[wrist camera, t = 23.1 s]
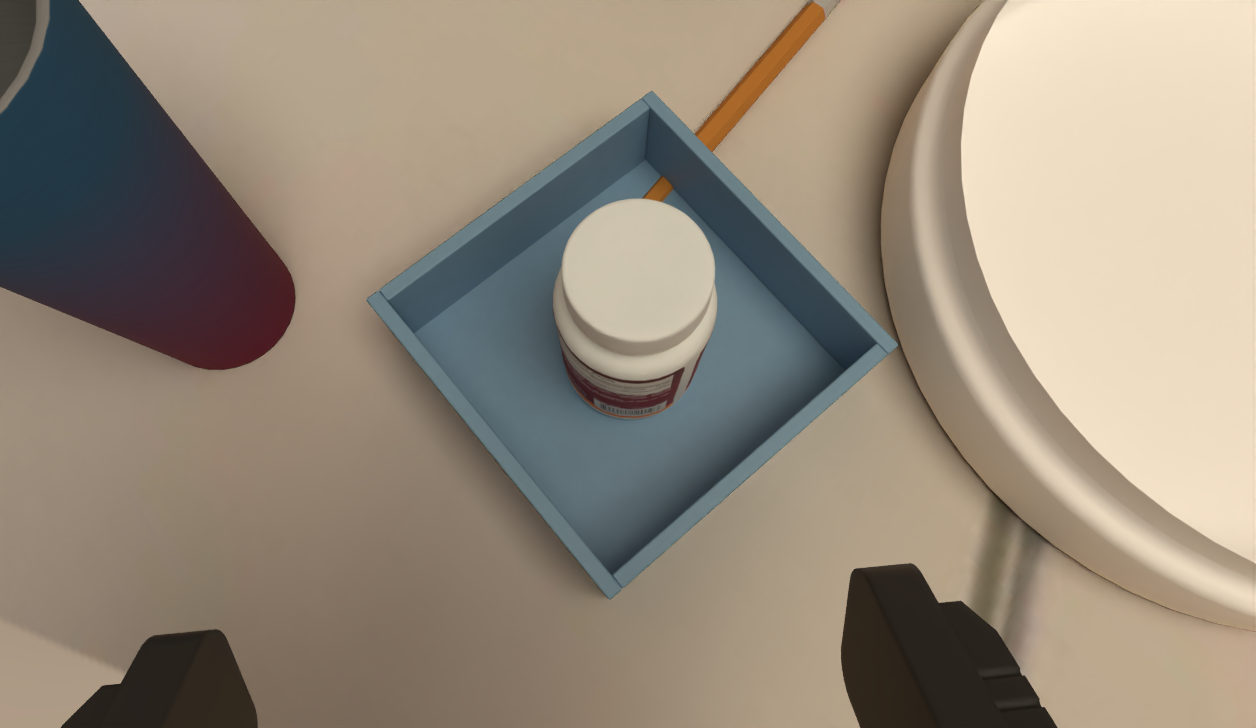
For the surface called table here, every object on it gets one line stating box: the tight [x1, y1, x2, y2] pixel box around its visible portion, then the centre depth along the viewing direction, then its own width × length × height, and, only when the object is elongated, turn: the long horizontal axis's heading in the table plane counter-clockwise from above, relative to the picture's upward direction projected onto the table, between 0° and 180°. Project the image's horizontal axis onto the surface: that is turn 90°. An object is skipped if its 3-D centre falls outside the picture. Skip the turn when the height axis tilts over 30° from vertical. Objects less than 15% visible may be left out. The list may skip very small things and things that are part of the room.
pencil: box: [642, 0, 840, 202], centre depth 31 cm, size 1×1×19 cm
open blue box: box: [366, 91, 898, 600], centre depth 27 cm, size 12×12×4 cm
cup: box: [0, 0, 295, 370], centre depth 22 cm, size 7×7×15 cm
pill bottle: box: [552, 198, 717, 420], centre depth 25 cm, size 5×5×8 cm
